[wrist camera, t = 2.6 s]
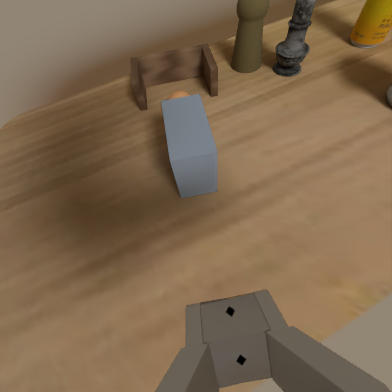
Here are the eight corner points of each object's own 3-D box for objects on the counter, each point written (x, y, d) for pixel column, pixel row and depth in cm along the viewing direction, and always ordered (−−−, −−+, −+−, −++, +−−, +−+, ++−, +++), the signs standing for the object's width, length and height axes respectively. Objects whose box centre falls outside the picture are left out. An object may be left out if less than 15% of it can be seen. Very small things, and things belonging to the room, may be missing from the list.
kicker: (181, 198, 28) (169, 161, 21) (172, 145, 33) (161, 101, 26) (217, 191, 28) (217, 151, 21) (203, 139, 33) (199, 93, 26)
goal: (140, 110, 38) (131, 84, 34) (139, 84, 42) (130, 58, 38) (217, 95, 38) (217, 67, 34) (208, 71, 42) (207, 43, 38)
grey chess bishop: (265, 70, 41) (281, -13, 31) (282, 57, 43) (303, -26, 32) (291, 81, 39) (318, -5, 28) (308, 66, 40) (340, -20, 30)
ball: (171, 127, 35) (165, 104, 31) (168, 110, 37) (163, 87, 34) (196, 122, 35) (194, 99, 31) (192, 106, 37) (189, 82, 34)
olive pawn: (226, 70, 42) (229, -2, 33) (236, 54, 45) (242, -16, 35) (255, 75, 40) (268, 1, 31) (264, 58, 43) (278, -15, 33)
